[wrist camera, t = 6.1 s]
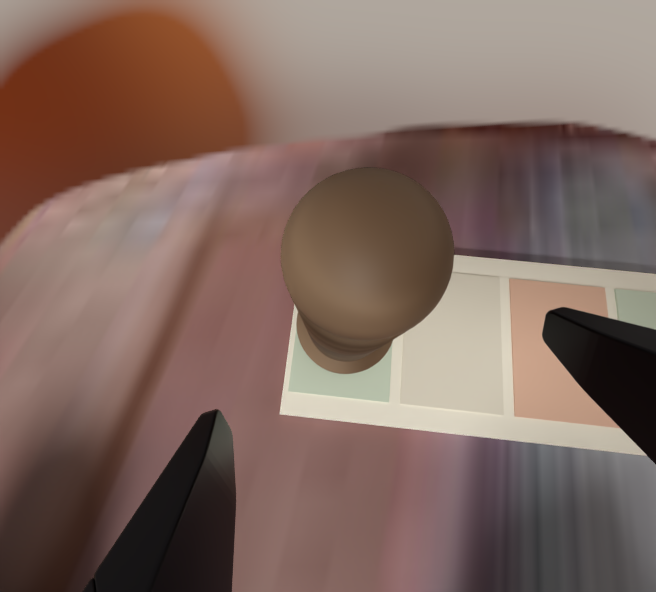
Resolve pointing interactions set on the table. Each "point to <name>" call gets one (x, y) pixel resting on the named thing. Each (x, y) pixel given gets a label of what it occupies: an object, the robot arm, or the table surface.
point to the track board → (483, 360)
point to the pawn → (364, 265)
